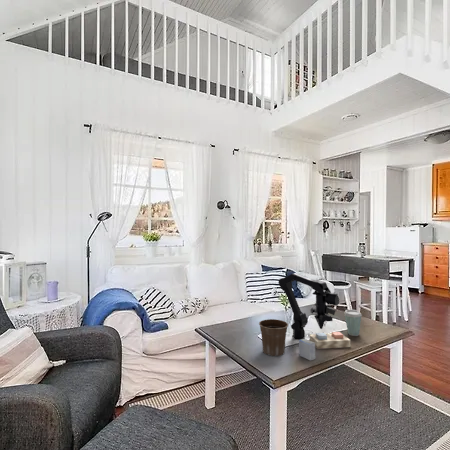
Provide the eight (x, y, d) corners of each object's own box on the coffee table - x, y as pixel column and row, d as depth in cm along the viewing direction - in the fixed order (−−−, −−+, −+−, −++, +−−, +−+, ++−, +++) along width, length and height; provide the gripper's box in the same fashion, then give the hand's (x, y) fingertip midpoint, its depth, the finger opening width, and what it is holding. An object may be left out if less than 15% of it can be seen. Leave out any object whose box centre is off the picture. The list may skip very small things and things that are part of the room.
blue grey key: (319, 341, 180) (319, 336, 180) (315, 338, 185) (315, 333, 185) (327, 340, 180) (327, 335, 180) (323, 337, 185) (323, 332, 185)
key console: (317, 348, 176) (317, 341, 176) (309, 341, 188) (309, 334, 188) (350, 346, 178) (350, 340, 178) (340, 339, 190) (340, 332, 190)
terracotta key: (335, 340, 181) (335, 335, 181) (331, 337, 186) (331, 332, 186) (343, 339, 181) (343, 334, 181) (339, 336, 186) (339, 331, 186)
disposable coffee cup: (365, 336, 195) (365, 312, 195) (352, 338, 192) (351, 314, 192) (354, 330, 205) (353, 308, 205) (340, 332, 202) (340, 310, 202)
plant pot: (294, 355, 168) (293, 326, 168) (268, 360, 162) (267, 329, 162) (278, 344, 183) (278, 317, 183) (254, 348, 177) (254, 321, 177)
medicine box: (315, 358, 163) (315, 342, 163) (309, 360, 161) (309, 344, 161) (304, 353, 170) (304, 338, 170) (298, 355, 167) (298, 339, 167)
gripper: (341, 306, 174) (341, 333, 174) (327, 298, 193) (327, 323, 193) (322, 307, 173) (322, 334, 173) (310, 299, 192) (310, 323, 192)
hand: (321, 328), depth 183 cm, fingers closed
